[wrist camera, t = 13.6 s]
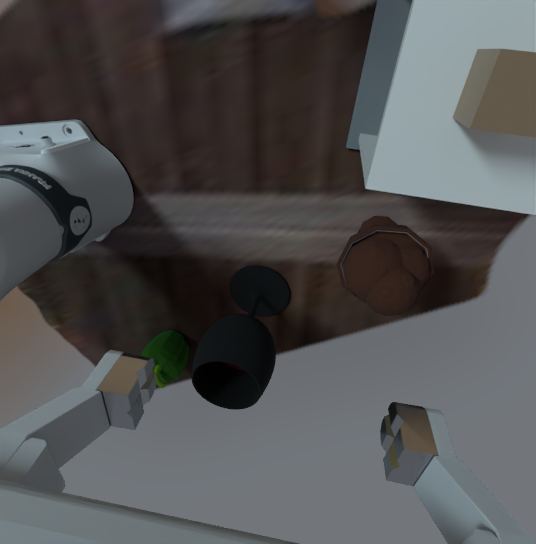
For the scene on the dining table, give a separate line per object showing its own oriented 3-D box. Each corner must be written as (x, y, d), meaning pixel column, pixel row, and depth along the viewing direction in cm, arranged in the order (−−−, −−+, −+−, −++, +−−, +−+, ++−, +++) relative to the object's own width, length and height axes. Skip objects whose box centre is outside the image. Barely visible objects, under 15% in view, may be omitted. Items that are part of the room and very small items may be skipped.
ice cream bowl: (435, 212, 46) (468, 273, 33) (393, 277, 52) (407, 347, 40) (361, 184, 46) (366, 234, 33) (327, 252, 52) (321, 315, 40)
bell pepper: (147, 327, 68) (120, 365, 60) (182, 320, 66) (158, 359, 57) (168, 357, 72) (144, 397, 64) (201, 352, 69) (182, 393, 61)
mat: (345, 146, 44) (345, 147, 43) (386, -44, 34) (387, -45, 33) (477, 165, 42) (479, 167, 41) (561, -28, 32) (565, -30, 32)
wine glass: (222, 299, 61) (176, 392, 44) (242, 254, 55) (197, 342, 39) (275, 323, 62) (249, 424, 45) (300, 282, 56) (281, 379, 39)
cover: (358, 140, 42) (368, 207, 24) (397, -26, 34) (456, -116, 16) (468, 155, 41) (566, 239, 23) (538, -14, 32) (784, -96, 14)
